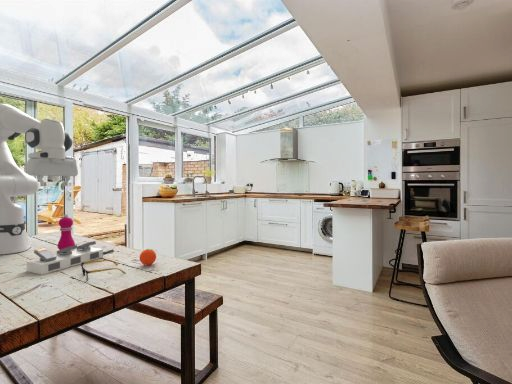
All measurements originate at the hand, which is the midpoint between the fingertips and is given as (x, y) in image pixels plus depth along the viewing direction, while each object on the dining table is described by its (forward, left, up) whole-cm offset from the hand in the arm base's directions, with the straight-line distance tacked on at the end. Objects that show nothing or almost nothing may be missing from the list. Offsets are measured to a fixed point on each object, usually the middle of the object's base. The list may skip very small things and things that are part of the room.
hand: (54, 186), depth 128 cm
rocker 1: (+8, -10, -28) cm, 31 cm away
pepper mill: (-7, +9, -34) cm, 36 cm away
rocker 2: (+8, -1, -28) cm, 29 cm away
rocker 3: (+8, +8, -28) cm, 30 cm away
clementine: (+42, +13, -34) cm, 56 cm away
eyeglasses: (+32, -2, -35) cm, 48 cm away
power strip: (+9, +5, -34) cm, 36 cm away
